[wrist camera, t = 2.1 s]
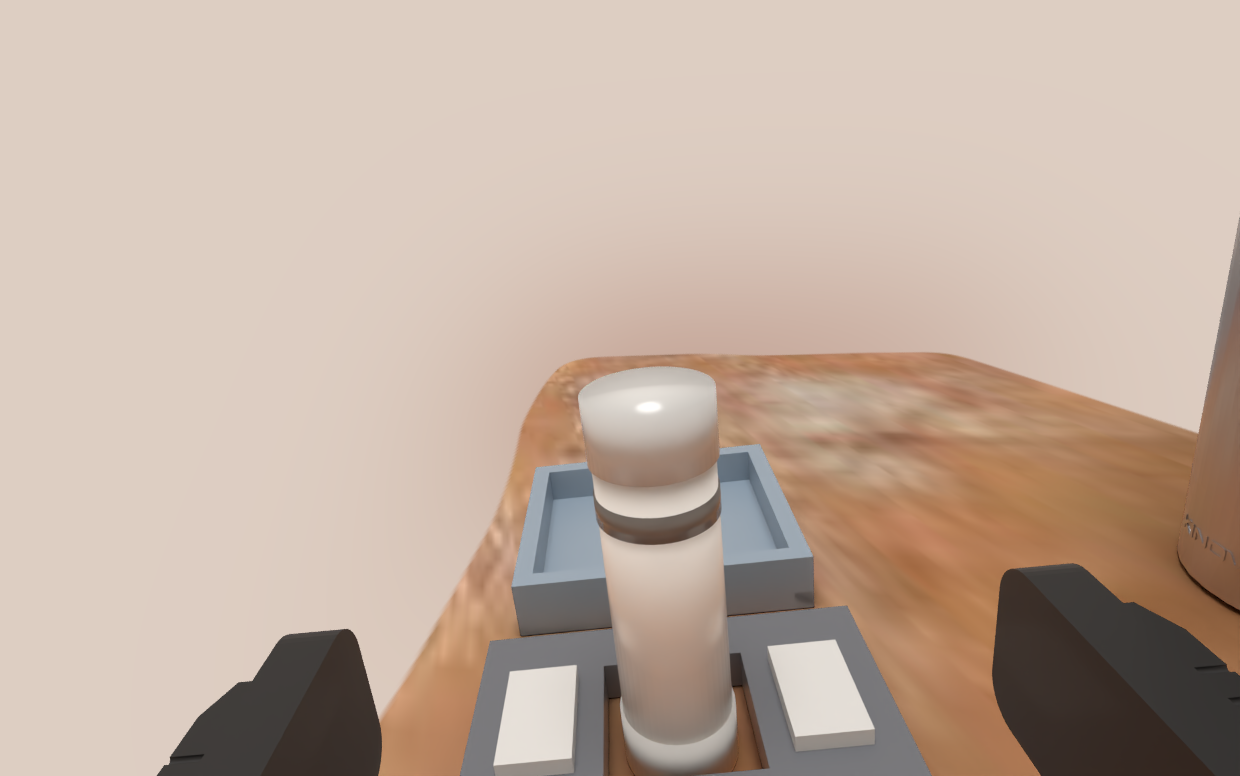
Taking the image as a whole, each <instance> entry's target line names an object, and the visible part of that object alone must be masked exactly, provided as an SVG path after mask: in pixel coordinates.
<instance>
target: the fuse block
mask: <svg viewBox="0 0 1240 776" xmlns="http://www.w3.org/2000/svg"><path fill="white" fill-rule="evenodd" d="M727 624H728V639H729V654H730V670H731V685H732V686H738V685H742V686H743V690H744V694H745V698H746V702H747V706H748V711H749V715H750V719H751V723H752V727H753V731H754V735H755V739H756V744H757V748H758V752H759V756H760V760H761V764H762V768H763V769H759V770H748V771H738V772H727V773H717V774H706V775H696V776H932V775H931V773H930V771H929V769H928V767H927V765H926V763H925V761H924V759H923V757H922V755H921V753H920V751H919V749H918V747H917V745H916V743H915V741H914V739H913V737H912V735H911V733H910V731H909V729H908V727H907V725H906V723H905V721H904V719H903V717H902V715H901V713H900V711H899V709H898V707H897V705H896V703H895V701H894V699H893V697H892V695H891V693H890V691H889V689H888V687H887V685H886V683H885V681H884V679H883V677H882V675H881V673H880V671H879V669H878V667H877V665H876V663H875V661H874V659H873V657H872V655H871V653H870V651H869V649H868V647H867V645H866V643H865V641H864V639H863V637H862V635H861V633H860V631H859V629H858V627H857V625H856V623H855V621H854V619H853V617H852V615H851V613H850V611H849V609H848V607H847V606H838V607H828V608H818V609H808V610H798V611H788V612H778V613H767V614H757V615H747V616H737V617H727ZM621 696H622V695H621V688H620V680H619V673H618V665H617V658H616V650H615V643H614V635H613V629H606V630H596V631H586V632H576V633H566V634H556V635H546V636H536V637H526V638H516V639H506V640H496V641H490V644H489V648H488V653H487V657H486V662H485V666H484V671H483V675H482V679H481V684H480V688H479V693H478V697H477V702H476V706H475V711H474V715H473V719H472V724H471V728H470V733H469V737H468V742H467V746H466V750H465V755H464V759H463V764H462V768H461V773H460V776H609V721H608V698H615V697H621Z"/></svg>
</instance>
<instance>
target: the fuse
mask: <svg viewBox="0 0 1240 776" xmlns="http://www.w3.org/2000/svg"><path fill="white" fill-rule="evenodd" d="M578 401H579V408H580V415H581V423H582V430H583V438H584V445H585V452H586V460H587V466H588V468H589V470H590V471H591V473H592V478H593V485H594V488H593V498H594V506H595V513H596V521H597V523H598V525H599V530H600V538H601V545H602V553H603V560H604V568H605V575H606V583H607V590H608V598H609V605H610V613H611V620H612V628H613V635H614V643H615V650H616V658H617V665H618V673H619V680H620V688H621V695H622V696H621V700H620V711H621V718H622V726H623V733H624V741H625V748H626V755H627V760H628V764H629V766H630V768H631V770H632V772H633V773H634V775H635V776H696V775H706V774H717V773H727V772H732V770H733V768H734V767H735V764H736V762H737V758H738V750H739V746H738V730H737V714H736V700H735V694H734V691H733V688H732V685H731V670H730V654H729V639H728V624H727V608H726V593H725V577H724V562H723V547H722V531H721V516H720V514H721V510H722V505H721V489H720V480H719V477H718V470H717V460H718V458H719V455H720V446H719V430H718V414H717V398H716V385H715V382H714V380H713V379H712V378H711V377H710V376H708V375H707V374H704V373H702V372H699V371H696V370H692V369H687V368H680V367H645V368H637V369H631V370H625V371H621V372H617V373H613V374H610V375H607V376H604V377H601V378H599V379H597V380H595V381H593V382H591V383H589V384H588V385H586V386H585V387H584V388H583V389H582V390H581V391H580V393H579V396H578Z"/></svg>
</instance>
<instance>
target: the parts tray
mask: <svg viewBox="0 0 1240 776" xmlns="http://www.w3.org/2000/svg"><path fill="white" fill-rule="evenodd" d="M717 470H718V477H719V480H720V489H721V505H722V510H721V514H720V516H721V531H722V547H723V562H724V577H725V593H726V608H727V616H728V615H738V614H748V613H758V612H768V611H778V610H788V609H798V608H808V607H814V565H813V555H812V553H811V551H810V548H809V546H808V544H807V542H806V540H805V538H804V536H803V534H802V532H801V530H800V527H799V525H798V523H797V521H796V519H795V517H794V515H793V513H792V511H791V509H790V507H789V504H788V502H787V500H786V498H785V496H784V494H783V492H782V490H781V488H780V486H779V484H778V481H777V479H776V477H775V475H774V473H773V471H772V469H771V467H770V465H769V463H768V460H767V458H766V456H765V454H764V452H763V450H762V448H761V446H760V444H756V445H747V446H737V447H728V448H720V455H719V458H718V460H717ZM593 488H594V485H593V478H592V473H591V471H590V470H589V468H588V466H587V462H584V463H574V464H564V465H555V466H545V467H536V470H535V475H534V480H533V485H532V489H531V494H530V499H529V504H528V509H527V514H526V519H525V523H524V528H523V533H522V538H521V543H520V548H519V553H518V557H517V562H516V567H515V572H514V577H513V582H512V593H513V598H514V603H515V609H516V614H517V619H518V624H519V630H520V635H521V636H526V635H537V634H547V633H557V632H567V631H577V630H587V629H597V628H607V627H612V620H611V613H610V605H609V598H608V590H607V583H606V575H605V568H604V560H603V553H602V545H601V538H600V530H599V525H598V523H597V521H596V513H595V506H594V498H593Z"/></svg>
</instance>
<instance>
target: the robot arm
mask: <svg viewBox="0 0 1240 776" xmlns="http://www.w3.org/2000/svg"><path fill="white" fill-rule="evenodd" d="M1177 550H1178V554H1179V558H1180V561H1181V563H1182V564H1183V565H1184V567H1185V568H1186V570H1187V571H1188V573H1189V574H1190V575H1191V576H1192V577H1193V578H1194V579H1195V580H1196V581H1198V582H1199V583H1200V584H1201V585H1202V586H1203V587H1204V588H1205V589H1207V590H1208V591H1210V592H1211V593H1213V594H1214V595H1216V596H1217V597H1218V598H1220V599H1221V600H1223V601H1224V602H1226V603H1227V604H1229V605H1231V606H1233V607H1235V608H1237V609H1239V610H1240V218H1239V223H1238V228H1237V234H1236V239H1235V245H1234V249H1233V255H1232V260H1231V265H1230V271H1229V276H1228V281H1227V287H1226V292H1225V297H1224V302H1223V307H1222V313H1221V318H1220V323H1219V329H1218V334H1217V340H1216V344H1215V350H1214V355H1213V360H1212V365H1211V371H1210V376H1209V381H1208V387H1207V392H1206V397H1205V403H1204V408H1203V413H1202V418H1201V424H1200V429H1199V434H1198V439H1197V445H1196V450H1195V455H1194V460H1193V465H1192V471H1191V476H1190V482H1189V488H1188V493H1187V498H1186V504H1185V509H1184V514H1183V520H1182V525H1181V530H1180V535H1179V541H1178V546H1177ZM992 677H993V686H994V691H995V696H996V699H997V703H998V706H999V708H1000V711H1001V713H1002V716H1003V718H1004V720H1005V722H1006V724H1007V725H1008V727H1009V729H1010V730H1011V732H1012V733H1013V735H1014V736H1015V738H1016V739H1017V741H1018V742H1019V744H1020V745H1021V747H1022V748H1023V749H1024V751H1025V752H1026V754H1027V755H1028V757H1029V758H1030V760H1031V761H1032V763H1033V764H1034V766H1035V767H1036V769H1037V770H1038V772H1039V773H1040V775H1041V776H1240V676H1239V675H1238V674H1237V673H1236V672H1229V671H1228V669H1227V664H1225V663H1224V662H1223V661H1222V660H1221V659H1219V658H1218V657H1217V656H1216V655H1215V654H1214V653H1212V652H1211V651H1210V650H1209V649H1208V648H1207V647H1205V646H1204V645H1203V644H1202V643H1201V642H1200V641H1198V640H1197V639H1196V638H1195V637H1194V636H1193V635H1191V634H1190V633H1189V632H1188V631H1187V630H1186V629H1184V628H1182V627H1180V626H1178V625H1176V624H1174V623H1172V622H1170V621H1168V620H1167V619H1165V618H1163V617H1161V616H1159V615H1157V614H1155V613H1153V612H1151V611H1149V610H1148V609H1146V608H1144V607H1142V606H1140V605H1138V604H1136V603H1134V602H1131V603H1122V602H1121V601H1120V600H1119V599H1118V598H1117V597H1116V596H1115V595H1114V594H1112V593H1111V592H1110V591H1109V590H1108V589H1107V588H1106V587H1105V586H1104V585H1102V584H1101V583H1100V582H1099V581H1098V580H1097V579H1096V578H1095V577H1094V576H1093V575H1091V574H1090V573H1089V572H1088V571H1087V570H1086V569H1084V568H1083V567H1081V566H1080V565H1077V564H1073V563H1072V564H1060V565H1049V566H1038V567H1028V568H1017V569H1009V570H1007V571H1006V572H1005V573H1004V575H1003V577H1002V580H1001V584H1000V592H999V603H998V613H997V624H996V635H995V646H994V657H993V668H992ZM381 752H382V737H381V728H380V723H379V719H378V715H377V712H376V708H375V704H374V700H373V696H372V693H371V689H370V685H369V681H368V678H367V674H366V670H365V666H364V663H363V660H362V655H361V652H360V648H359V644H358V641H357V639H356V637H355V635H354V634H353V632H352V631H351V630H348V629H342V630H331V631H321V632H309V633H299V634H289V635H286V636H283V637H282V638H281V639H280V640H279V641H278V643H277V644H276V645H275V647H274V649H273V650H272V652H271V653H270V655H269V656H268V658H267V659H266V661H265V662H264V664H263V665H262V667H261V668H260V670H259V671H258V673H257V675H256V676H255V678H254V679H253V681H249V682H239V683H237V684H236V685H235V686H234V687H233V688H232V689H230V690H229V691H228V692H227V693H226V694H225V695H224V696H222V697H221V698H220V699H219V700H218V701H217V702H215V703H214V704H213V705H212V706H211V707H209V708H208V709H207V710H206V711H205V712H204V713H203V714H201V715H200V716H199V717H198V718H197V719H196V721H195V722H194V724H193V725H192V727H191V728H190V729H189V731H188V732H187V734H186V735H185V737H184V738H183V739H182V741H181V742H180V744H179V745H178V747H177V748H176V749H175V751H174V752H173V754H172V755H171V757H170V763H169V765H164V766H163V768H162V769H161V771H160V772H159V773H158V775H157V776H378V774H379V769H380V763H381Z"/></svg>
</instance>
